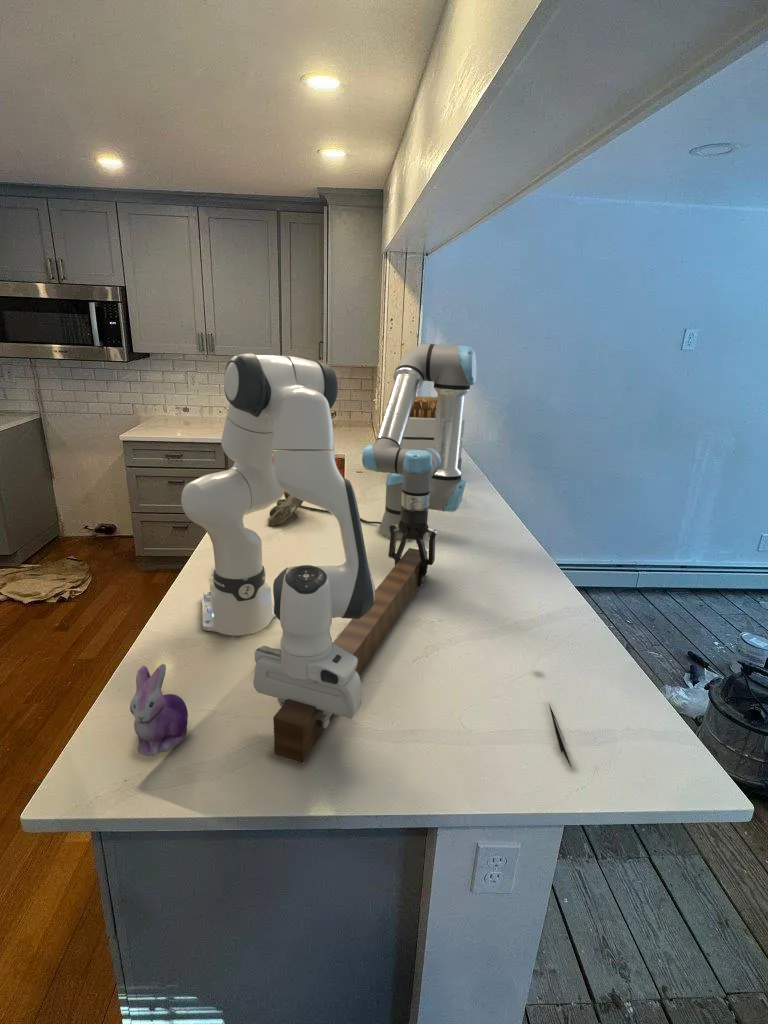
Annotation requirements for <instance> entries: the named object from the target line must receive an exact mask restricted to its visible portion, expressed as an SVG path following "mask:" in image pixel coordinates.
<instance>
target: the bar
mask: <svg viewBox="0 0 768 1024" xmlns="http://www.w3.org/2000/svg"><path fill="white" fill-rule="evenodd" d="M426 553H427V554H428V551H427V550H426ZM421 563H422V562H421V558H420V553H419V549H418V548H412V547H409V548H408V549H407V550H406V551H405V553H404V554H402V555H401V557H400V560H399V561H398V563H397V564H396V565H395V564H394V565H395V566H393V568H392V569H390V571H389V572H388V574H387V575H386V576H385V577H384V579H383V580H382V581H381V582H380V584H379V585H378V586H377V587H376V588H375V600H374V606H373V607H372V608H371V609H370V610H369V611H368V612H367V613H366V614H365V615H364V616H362V617H361V618H360V619H350V621H349V622H348V623H347V625H346V626H345V627H344V628H343V630H342V631H341V632H340V633H339V634H338V636H337V637H336V638H335V640H333V641H332V642H333V643H334V644H336V645H337V646H338V647H340V648H342V649H343V650H345V651H347V652H348V653H350V654H352V655H354V656H355V657H356V658H357V659H358V664H357V667H356V669H355V671H356V672H357V673H358V675H359V677H360V678H361V676H362V675H363V672H364V671H365V670H366V668H367V667H368V665H369V663H370V662H371V661H372V658H373V657H374V655H376V653H377V651H378V649H379V648H380V646H381V645H382V643H383V642H384V640H385V639H386V638H387V636H388V634H389V633H390V631H391V629H392V628H393V627H394V625H395V623H396V621H397V620H398V619H399V617H400V616H401V614H402V613H403V611H404V610H405V608H406V607H407V605H408V604H409V602H410V600H411V599H412V598H413V596H414V594H416V592H417V590H418V588H419V587H418V577H419V566H420V564H421ZM425 577H426V575H425V576H423V580H424V579H425ZM322 714H324V711H322V710H319V709H316V707H315V706H311V705H308V704H304V703H301V702H297V701H294V700H290V699H287V701H286V702H285V703H284V704H283V706H282V707H281V706H280V708H279V709H278V710H277V712H276V713H275V714H274V716H273V717H272V718H273V720H272V721H273V749H274V750H273V751H274V756H278V757H281V758H284V759H287V760H290V761H292V762H297V763H299V764H304V763H305V762H306V759H308V756H309V755H310V754H311V752H312V750H313V749H314V748H315V746H316V744H317V743H318V742H319V740H320V738H321V737H322V735H323V733H324V732H325V730H326V729H324V728H321V727H318V720H319V718H320V717H321V715H322ZM335 716H336V714H332V715H331V717H330V718H329V724H330V723H331V721H332V720H333V718H334V717H335Z"/></svg>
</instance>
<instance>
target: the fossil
mask: <svg viewBox="0 0 768 1024" xmlns="http://www.w3.org/2000/svg"><path fill="white" fill-rule="evenodd" d="M283 496H284V498H283V499H282V498H281V499H280V500H279V501H277V502H276V505H275V506H274V507H272V508H270V510H269V513H268V514H269V516H270V517H269V518H268V519H267V521H268V522H267V523H268V525H269V526H272V527H275V526H277V525H280V524H282V523H283V522H285V521H286V520H288V518H290V517H291V516H292V515H293V516H294V517H296V519H298V518H299V517H298V515H297V514H296V511H297V510H298V509H299V508H301V507H300V506H303V503H305V501H302V500H300V499H297V498H295V497H293V496H292V495H290V494H289V493H287V492H286V491H284V494H283Z"/></svg>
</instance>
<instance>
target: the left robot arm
mask: <svg viewBox="0 0 768 1024" xmlns="http://www.w3.org/2000/svg"><path fill="white" fill-rule="evenodd" d="M223 374H224V376H223V391H224V395H225V398H226V400H227V401H228V403H229V404H228V408H227V413H226V418H225V422H224V426H223V430H222V435H221V440H220V443H221V448H222V450H223V452H224V454H225V455H226V457H228V459H230V460H232V461H233V462H234V463H233V465H232V466H231V467H230V468H229V469H227V470H222V471H218V472H213V473H208V474H205V475H201V476H200V477H198V478H196V479H194V480H192V481H190V482H188V483H186V485H184V487H183V489H182V492H181V495H180V496H181V498H180V503H181V507H182V510H183V512H184V514H185V516H186V517H187V518H188V519H189V520H190V521H191V522H193V523H194V524H196V525H198V526H200V527H201V528H203V530H205V532H206V533H207V534H208V536H209V538H210V541H211V543H212V544H211V545H212V549H213V558H214V570H213V574H212V580H213V581H212V582H210V584H209V591H205V592H202V594H203V595H202V597H203V598H202V599H201V619H202V620H201V621H202V630H204V631H207V632H216V633H219V634H222V635H227V636H235V637H237V636H247V635H252V634H255V633H258V632H261V631H262V630H264V629H265V628H267V627H268V626H269V625H270V624H271V623H272V622H271V621H273V619H275V617H276V618H277V619H278V621H279V623H280V627H281V629H282V636H281V637H280V648H275V647H270V646H269V645H262V646H260V647H257V648H256V649H255V651H254V663H255V667H254V673H253V688H254V689H255V691H256V692H257V693H259V694H262V695H266V696H269V697H273V698H275V699H276V698H277V702H278V704H279V706H280V708H281V707H282V706H283V704H284V703H285V702H286V701H287V699H290V700H294V701H297V702H301V703H304V704H308V705H311V706H315V707H316V709H319V710H322V711H324V714H322V715H321V717H320V718H319V720H318V727H321V728H324V729H325V730H326V729H327V728H328V727H329V725H330V723H329V718H330V717H331V715H332V714H335V716H336V715H337V716H340V717H344V718H347V719H352V718H354V717H355V716H356V715H357V714H358V712H359V710H360V708H361V706H362V701H363V697H362V696H363V695H362V694H363V693H362V692H363V690H362V682H361V676H360V677H359V675H358V673H357V672H356V671H355V669H356V667H357V664H358V659H357V658H356V657H355V656H354V655H352V654H350V653H348V652H347V651H345V650H343V649H342V648H340V647H338V646H337V645H336V644H334V643H333V642H334V641H333V639H332V635H331V626H332V623H333V618H340V619H350V620H352V619H360V618H361V617H362V616H364V615H365V614H366V613H367V612H368V611H369V610H370V609H371V608H372V607H373V606H374V600H375V590H376V588H375V583H374V578H373V576H372V573H371V570H370V566H369V561H368V555H367V551H366V545H365V540H364V539H365V538H364V533H363V529H362V528H363V527H362V521H361V520H360V518H361V517H360V510H359V507H358V502H357V498H356V497H357V496H356V493H355V490H354V487H353V485H352V483H351V481H350V480H349V479H347V478H345V477H343V475H342V474H341V472H340V470H339V468H338V466H337V463H336V457H335V435H334V425H333V419H332V413H331V409H332V408H333V407H334V404H335V403H336V401H337V398H338V395H339V381H338V377H337V374H336V372H335V370H334V369H333V368H332V366H330V365H329V364H327V363H325V362H323V361H319V360H316V359H312V360H310V359H306V358H302V357H297V356H292V355H277V354H276V355H274V354H273V355H272V354H254V353H252V352H251V353H240V354H236V355H233V356H232V357H231V358H230V360H229V361H228V362H227V364H226V366H225V370H224V373H223ZM285 492H287V493H289V494H290V495H292V496H293V497H295V498H297V499H300V500H302V501H304V503H308V504H311V505H314V506H317V507H319V508H321V509H322V510H327V511H329V512H330V513H329V514H332V515H333V516H334V518H335V519H336V521H337V523H338V526H339V531H340V536H341V541H342V547H343V552H344V557H345V561H344V563H342V564H340V565H317V566H316V565H311V564H303V565H296V566H290V567H289V566H288V567H286V568H284V569H283V570H282V571H281V572H279V574H278V575H277V576H276V578H275V579H274V580H273V585H272V587H271V585H269V584H268V583H267V582H266V571H265V566H264V565H263V563H264V562H263V542H262V539H261V536H259V535H258V533H257V532H256V531H254V530H253V529H250V528H247V527H245V525H244V516H246V515H250V514H253V513H256V512H260V511H263V510H265V509H267V508H269V507H270V506H273V505H274V504H277V501H279V500H281V499H282V498H283V496H284V494H285ZM272 593H273V595H272Z"/></svg>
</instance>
